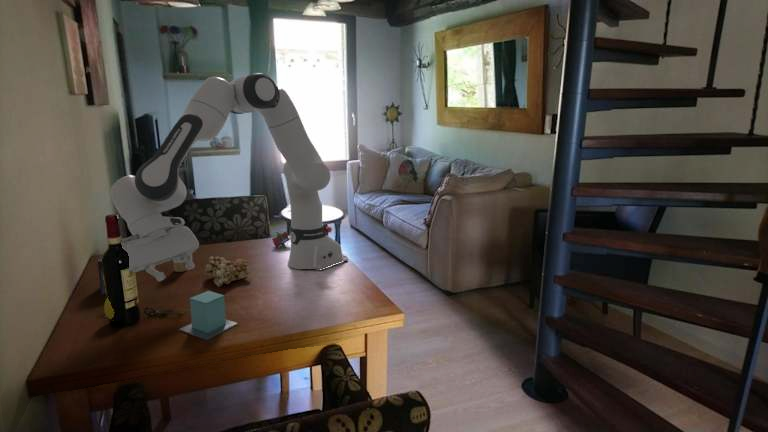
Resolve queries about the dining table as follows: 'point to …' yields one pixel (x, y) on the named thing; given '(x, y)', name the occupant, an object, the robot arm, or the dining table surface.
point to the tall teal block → (208, 311)
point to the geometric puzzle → (280, 239)
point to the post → (211, 334)
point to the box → (101, 274)
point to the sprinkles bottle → (180, 264)
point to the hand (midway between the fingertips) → (177, 273)
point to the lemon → (108, 309)
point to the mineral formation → (226, 270)
